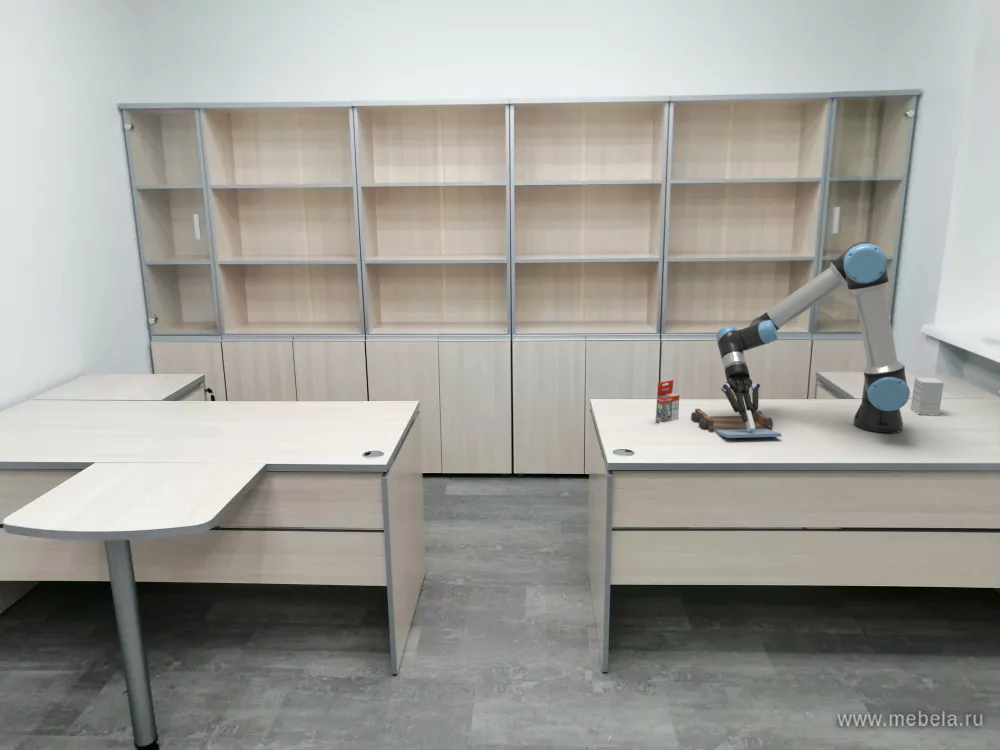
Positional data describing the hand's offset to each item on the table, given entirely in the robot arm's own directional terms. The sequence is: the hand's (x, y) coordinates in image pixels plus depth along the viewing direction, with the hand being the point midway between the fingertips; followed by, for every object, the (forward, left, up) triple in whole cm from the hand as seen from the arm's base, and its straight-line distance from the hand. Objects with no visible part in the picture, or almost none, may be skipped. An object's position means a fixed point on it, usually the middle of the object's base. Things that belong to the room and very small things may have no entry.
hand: (751, 430), depth 231 cm
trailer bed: (+14, -7, -4) cm, 17 cm away
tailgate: (+8, -4, -3) cm, 10 cm away
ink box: (+30, +9, -4) cm, 32 cm away
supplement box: (-8, -82, -4) cm, 83 cm away
